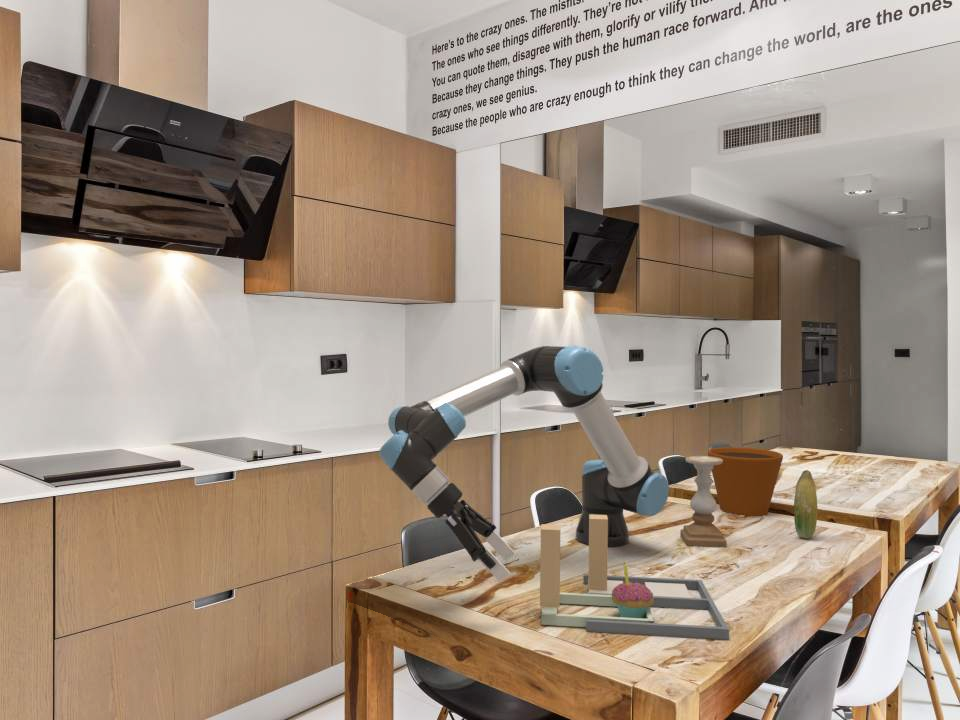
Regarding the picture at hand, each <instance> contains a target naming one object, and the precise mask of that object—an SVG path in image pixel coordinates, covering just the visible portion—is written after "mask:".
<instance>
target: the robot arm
mask: <svg viewBox="0 0 960 720" xmlns="http://www.w3.org/2000/svg"><path fill="white" fill-rule="evenodd" d="M603 372H604V367H603V364H602V361H601V359H600V357H599V356H598V355H597V354H596V353H595V352H594V351H593V350H591V349H589V348H586V347H582V346H577V345H570V346H559V345H558V346H557V345H554V346H551V345H550V346H549V345H546V346H545V345H542V346H538V347H535V348H532V349H529V350H527V351H524V352H522V353H519V354H518V355H515V356H513V357H511V358H508V359H507V360H504V361H502V363H501V364H500V367H498V368H496V369H493V370H491V371H489V372H487V373H484V374H482V375H480V376H478V377H475V378H473V379H471V380H468V381H466V382H464V383H461V384H460V385H457V386H455V387H452V388H451V389H448V390H446V391H444V392H442V393H440V394H437V395H435V396H433V397H430V398H428V399H426V400H423V401H420V402H419V403H416V404H414V405H411V406H409V405H406V406H405V405H404V406H398V407H397V408H396V407H395V408H394V409H393V410H392V411H391V413H390V415H389V416H388V423H387V424H388V429H389V430H390V432H391V433H392V436H391V437H390V438H389V439H388V440H387V441H386V442H385V443H384V444H383V445H382V446H381V447H380V449H379V450H378V454H379V455H378V456H379V457H380V458H381V460H382V461H383V462H384V464H385V465H386V466H387V467H388V469H389V470H390V471H392V473H394V474H395V475H396V476H397V477H398V478H399V480H401V481H402V483H404V484H405V485H406V487H407V488H409V490H411V492H412V493H413V498H415V499H418V500H420V502H421V503H422V504H423V505H424V504H428V505H427V506H426V507H427V509H428V510H429V512H430V513H431V514H433V516H434V517H435V518H436V519H440V518H442V517H443V516H444V515H446V517H447V519H445V521H444V522H445V525H447V526H448V527H449V528H450V529H451V531H452V532H453V534H454V535H455V536H456V538H457V539H458V541H459V542H460V543H461V545H462V546H463V548H464V549H465V550H466V552H467V554H468V555H469V556H470V557H471V560H472V561H473V562H476V561H478V560H479V562H480V563H481V564H482V566H484V567H485V568H486V569H487V571H488V572H490V573H491V575H492V576H493V577H494V578H495V579H496V580H497V581H498V583H502V582H503V581H504V580H505V579H506V578H507V577H508V576H509V575H510V574H511V572H510V571H509V569H508V568H506V566H505V565H504V564H503V563H502V562H501V561H500V560H499V559H498V558H497V557H496V556H495V555H494V554H493V553H492V552H491V550H490V549H488V548H487V549H486V547H485V546H484V544H483V542H482V541H481V539H480V537H479V536H478V534H479V535H481V536H482V537H484V538H485V541H486V542H487V544H488V545H490V547H491V548H493V550H494V551H495V552H496V553H497V554H498V555H499V556H500V558H502V559H503V560H504V561H505V562H507V561H508V560H509V559H510V558H511V557H513V556H514V555H515V553H516V552H515V551H514V550H513V549H512V548H511V546H509V544H508V543H506V541H505V540H504V539H503V538H502V537H501V536H500V535H499V534H498V533H497V532H496V531H495V530H496V529H497V527H496V525H495V524H492V523H491V522H490V521H488V519H486V518H485V517H484V516H482V515H481V514H480V513H479V512H477V510H475V509H474V508H473V507H471V506H470V505H469V504H468V503H467V502H466V500H464V499H461V498H462V497H463V492H462V490H460V488H458V486H457V485H456V484H455V483H454V482H449V481H450V477H448V475H447V474H446V473H444V471H443V470H441V469H440V468H439V466H437V464H436V463H434V462H435V461H434V462H433V460H434V459H436V457H437V456H438V455H439V454H440V453H441V452H442V451H444V449H446V448H447V447H448V446H449V445H450V444H451V443H452V442H453V441H454V440H456V439H457V438H458V437H459V435H460V434H461V433H462V432H463V430H465V428H466V427H467V426H466V425H467V422H466V419H465V417H467V416H468V415H471V414H473V413H475V412H477V411H479V410H481V409H483V408H486V407H488V406H491V405H492V404H495V403H496V402H498V401H501V400H503V399H506V398H507V397H509V396H512V395H514V396H521V395H523V394H525V393H528V392H533V391H535V392H536V391H537V392H538V391H540V392H542V391H543V392H552V393H554V394H555V396H556V397H557V399H558V401H559V402H560V404H561V405H562V407H563V408H566V409H570V410H571V411H572V412H573V413H574V416H575V417H576V419H577V420H578V422H579V424H580V426H581V427H582V429H583V430H584V432H585V434H586V435H587V438H588V439H589V441H590V442H591V444H592V445H593V447H594V449H595V450H596V452H597V454H598V456H599V458H601V459H592V460H587V461H585V462H584V464H583V466H582V474H581V492H582V493H581V497H582V498H581V501H582V505H581V507H582V508H581V513H580V514H581V515H580V516H579V517H580V518H579V520H578V522H577V525H576V529H575V540H577V541H578V542H579V541H580V542H579V543H583V544H585V545H588V546H589V514H593V515H607V518H608V547H618V546H619V547H620V546H623V545H627V544H628V543H629V542H630V532H629V528H628V525H627V522H626V518H625V516H624V510H625V511H627V512H630V513H634V514H636V515H637V514H638V515H639V516H647V517H654V516H656V515H657V514H659V513H660V512H661V511H662V510H663V508H664V507H665V506H666V504H667V501H668V498H669V493H670V485H669V482H668V479H667V477H666V476H665V475H664V474H662V473H660V472H655V471H653V470H652V467H651V466H650V464H649V462H648V461H647V460H646V458H644V457H643V456H640V455H637V453H636V451H635V450H634V448H633V446H632V444H631V443H630V441H629V439H628V437H627V435H626V434H625V432H624V429H622V426H621V424H620V423H619V422H618V420H617V418H616V416H615V415H614V412H613V411H612V409H611V407H610V406H609V404H608V403H607V401H606V398H605V397H604V395H603V394H602V390H603V389H604V388H603V387H604V383H603V380H604V374H603ZM460 499H461V500H460ZM459 500H460V501H459Z"/></svg>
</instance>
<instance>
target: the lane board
mask: <svg viewBox="0 0 960 720" xmlns="http://www.w3.org/2000/svg"><path fill="white" fill-rule="evenodd" d="M582 577H583V581H582V583H583V585H588V574H583V576H582ZM628 579H629V582H632V583H634V582H635V583H641V584H643V585H644V586H645V582H654V583H675V584H685V586H686V588H687V590H688V591H690V590H693V591H695V590H696V591H698V593H699V596H700V597H701V598H700V597H699V598H698V597H697V598H696V597H691V598H684V597H664V596H653V598H654V603H653V604H652V605H651V606H650V608H651V607H652V608H669V609H670V608H671V609H672V608H673V609H684V610H685V609H688V610H689V609H690V610H707V611H708V613H709V614H710V616H711V619H712V620H713V622H714V624H715V626H712V625H695V624H693V625H692V624H679V623H677V624H675V623H673V624H672V623H661V622H660V623H659V622H656V623H655V622H654V623H644V622H626V621H608V620H591V619H587V625H586V627H585V628H586V629H585V630H586V632H593V633H609V634H610V633H611V634H624V635H625V634H626V635H628V634H629V635H641V636H642V635H643V636H646V635H647V636H657V637H658V636H659V637H661V636H662V637H674V638H675V637H678V638H693V639H710V640H711V639H712V640H727V641H728V640H730V628H729V627H728V625H727V623H726V621H725V620H724V618H723V616H722V613H721V612H720V611H719V609H718V607H717V605H716V604H715V601H714V600H713V598H712V597H711V595H710V593H709V591H708V590H707V587H706V586H705V584H704V581H703V580H701V579H687V578H670V577H668V578H665V577H648V576H647V577H646V576H640V577H639V576H628ZM607 580H614V581H623V583H625V582H626V581H625V575H624V576H623V575H607ZM584 594H596V595H612V594H606V593H589V592H584Z"/></svg>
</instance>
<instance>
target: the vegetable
mask: <svg viewBox="0 0 960 720" xmlns="http://www.w3.org/2000/svg"><path fill="white" fill-rule="evenodd" d="M793 515H794V517H793V519H794V520H793V521H794V527H795V531H796V533H797V535H798V536H799V537H800V538H802V539H806V540H807V539H811V538H812V537H813V535H815V533H816V527H817V523H818V522H817V521H818V495H817V490H816V484H815V481H814V478H813V476H812V473H811V471H810V470H807V469H805V470H803V471H802V473H801V474H800V476H799V478H798V480H797V482H796V485H795V493H794V499H793Z"/></svg>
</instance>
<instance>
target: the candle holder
mask: <svg viewBox="0 0 960 720" xmlns="http://www.w3.org/2000/svg"><path fill="white" fill-rule="evenodd" d="M685 462H686V463H689V464H693V466H694V468H695V469H696V472H697V475H696V477H695V478H694V483H695V484H696V487H697V490H696V491H695V493H694V494H693V496H692V498H691V500H690V503H689V506H690V509H691V510H692V511H694V513H693V514H692V516H691V519H692V520H693V522H692V523H690V524H685V525H683V528H682V529H680V531H679V533H680V536H679V537H680V538H681V540H682V541H683V543H684V545H686V547H693V546H697V548H698V547H699V548H701V547H702V548H720V547H726V548H727V545H728V544H727V540H726V538H725V537H724V534H723V532H722V531H721V530H720V529H719V528H718V526H716V525H714V524H713V522H714V521H715V516H714V514H713V513H714V512H715V511H716V510H717V507H718V506H717V505H718V504H717V501H716V499H715V498H714V496H713V494H712V492H711V486H712V485H713V484H714V479H712V478H713V477H712V476H711V473H712V469H713V468H714V465H719V464H722V463H723V460H722V459H721V458H717V457H710V456H708V455H690V456H686V457H685Z"/></svg>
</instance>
